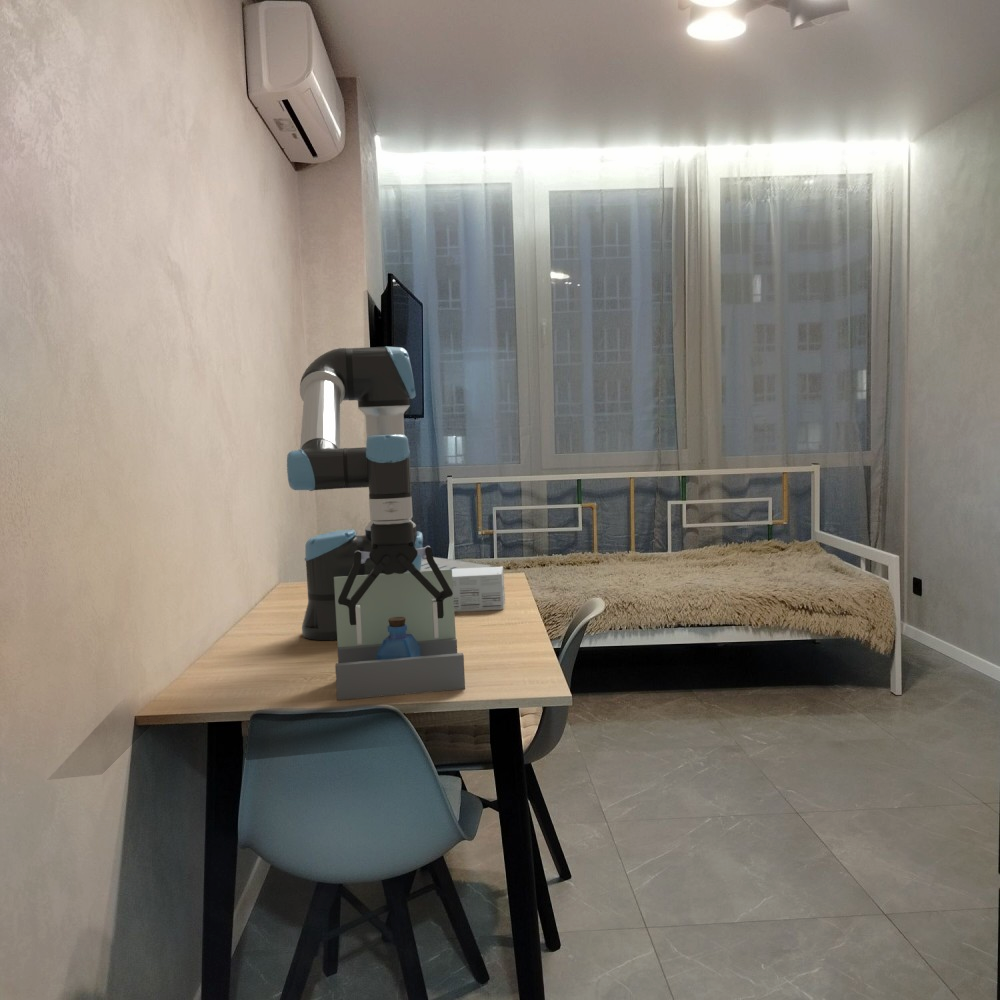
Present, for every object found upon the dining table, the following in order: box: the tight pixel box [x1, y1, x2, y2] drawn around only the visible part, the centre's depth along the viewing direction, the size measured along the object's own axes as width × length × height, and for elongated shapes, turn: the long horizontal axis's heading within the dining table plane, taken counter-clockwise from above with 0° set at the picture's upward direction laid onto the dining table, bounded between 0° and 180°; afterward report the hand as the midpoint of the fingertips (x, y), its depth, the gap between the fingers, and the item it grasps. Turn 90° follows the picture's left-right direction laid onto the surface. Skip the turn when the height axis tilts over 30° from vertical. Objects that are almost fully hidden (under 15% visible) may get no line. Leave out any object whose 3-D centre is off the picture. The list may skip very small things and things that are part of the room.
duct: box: [334, 637, 466, 701], centre depth 155 cm, size 13×22×6 cm, turn 99°
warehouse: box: [420, 556, 495, 571], centre depth 250 cm, size 30×14×8 cm, turn 39°
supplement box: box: [441, 565, 506, 613], centre depth 223 cm, size 17×13×9 cm
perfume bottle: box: [377, 617, 420, 660], centre depth 155 cm, size 6×6×12 cm
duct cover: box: [334, 569, 457, 648], centre depth 162 cm, size 13×22×1 cm
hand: (398, 639), depth 154 cm, fingers open, 13 cm apart
